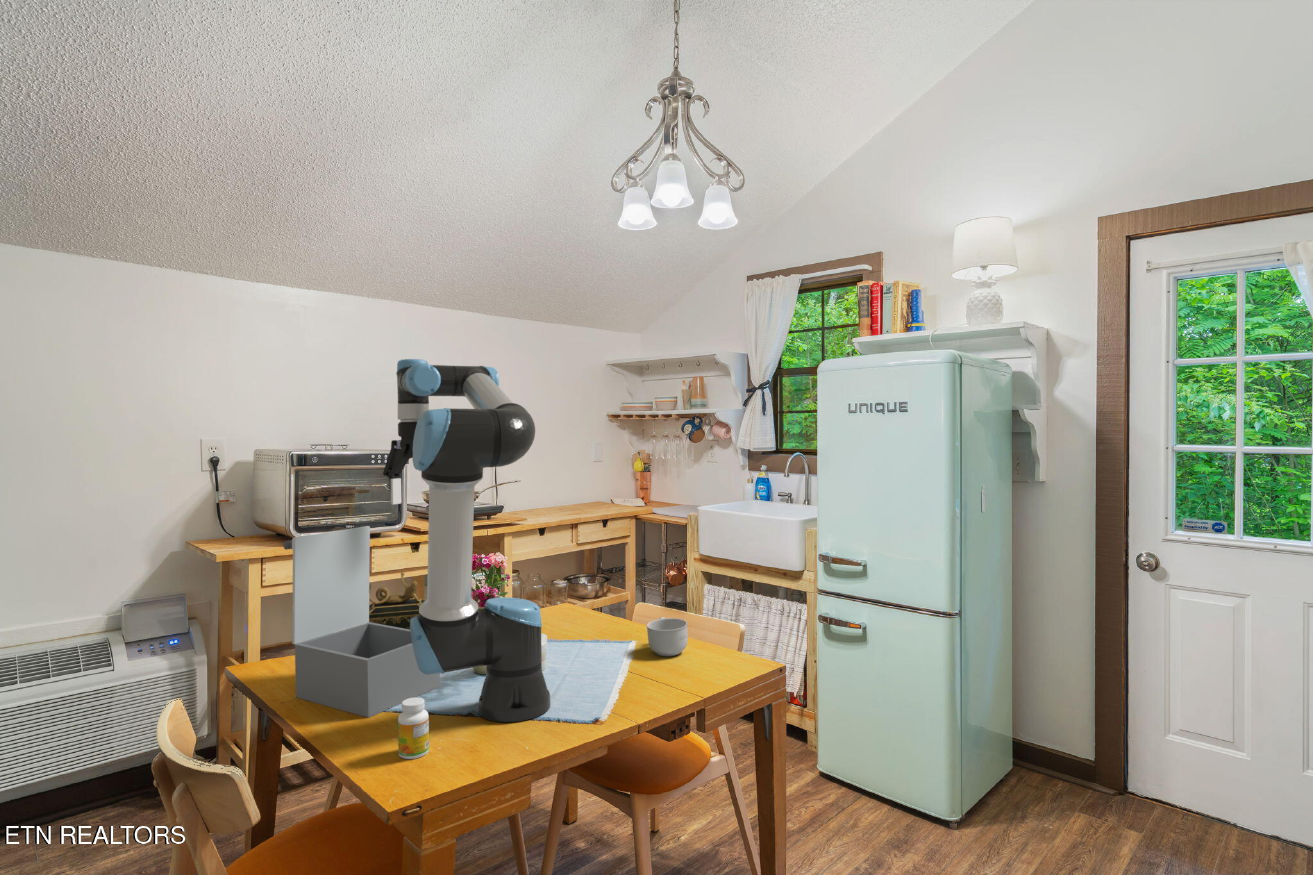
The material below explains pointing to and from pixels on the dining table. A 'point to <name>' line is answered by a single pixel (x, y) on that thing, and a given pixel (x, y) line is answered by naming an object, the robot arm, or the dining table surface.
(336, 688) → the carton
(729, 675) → the dining table surface
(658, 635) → the teacup
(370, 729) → the dining table surface
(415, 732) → the supplement bottle
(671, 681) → the dining table surface
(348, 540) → the lid flap
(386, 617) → the decorative box
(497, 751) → the dining table surface
